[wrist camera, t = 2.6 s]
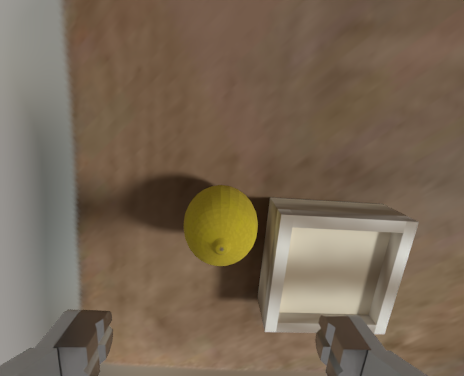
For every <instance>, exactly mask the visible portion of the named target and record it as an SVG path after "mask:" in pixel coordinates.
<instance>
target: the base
mask: <svg viewBox="0 0 464 376" xmlns="http://www.w3.org/2000/svg"><path fill="white" fill-rule="evenodd" d="M418 223H419V222H418V221H416V220H414V219H412V218H410V217H408V216H406V215H404V214H402V213H400V212H398V211H396V210H394V209H392V208H390V207H388V206H386V205H384V204H372V203H355V202H338V201H321V200H304V199H288V198H271V197H270V202H269V210H268V218H267V226H266V234H265V242H264V250H263V258H262V266H261V274H260V282H259V289H258V297H257V298H258V303H259V307H260V312H261V317H262V321H263V326H264V331H265V332H296V333H317V332H318V331H319V330H320V329H321V327H320V325H319V318H320V317H321V315H359V316H360V317H361V318H362V319H363V320H364V322H365V323H366V324H367V326H368V327H369V328H370V330H371V331H372V332H373V334H385V331H386V328H387V324H388V321H389V318H390V315H391V311H392V308H393V305H394V301H395V298H396V295H397V292H398V288H399V285H400V282H401V279H402V275H403V272H404V269H405V266H406V262H407V259H408V256H409V252H410V249H411V246H412V243H413V239H414V236H415V233H416V230H417V226H418Z"/></svg>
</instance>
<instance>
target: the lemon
mask: <svg viewBox="0 0 464 376" xmlns="http://www.w3.org/2000/svg"><path fill="white" fill-rule="evenodd" d="M257 229H258V221H257V215H256V211H255V209H254V207H253V205H252V203H251V201H250V200H249V199H248V198H247V196H246V195H245V194H243V193H242V192H240V191H239V190H238V189H235V188H233V187H230V186H224V185H218V186H211V187H209V188H206V189H204V190H203V191H201V192H200V193H198V194H197V195H196V196H195V197H194V198H193V200H192V201H191V202H190V204H189V206H188V208H187V210H186V212H185V218H184V234H185V239H186V241H187V244H188V246H189V248H190V250H191V251H192V252H193V253H194V255H195V256H196V257H197V258H199V259H200V260H201V261H203V262H205V263H208V264H210V265H215V266H227V265H231V264H234V263H236V262H238V261H240V260H241V259H242V258H244V257H245V256H246V255H247V254H248V253H249V251H250V250H251V248H252V247H253V245H254V242H255V240H256V237H257Z"/></svg>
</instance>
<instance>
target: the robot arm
mask: <svg viewBox="0 0 464 376" xmlns="http://www.w3.org/2000/svg"><path fill="white" fill-rule="evenodd" d="M111 321H112V314H111V312H110V311H98V310H67V311H65V312H64V313H63V314H62V315H61V317H60V318H59V319H58V320H57V321H56V323H55V324H54V325H53V326H52V327H51V329H50V330H49V331H48V332H47V334H46V335H45V336H44V337H43V338H42V340H41V341H40V342H39V343H38V344H37V346H36V347H35V348H29V349H27V350H26V351H24V352H23V353H21V354H19V355H17V356H16V357H14V358H12V359H11V360H9V361H7V362H5V363H4V364H2V365H1V366H0V376H98V375H99V373H100V364H101V363H102V362H103V361H104V360H106V358H107V356H108V354H109V351H110V348H111V344H112V339H113V329H112V328H111V327H110V326H109V325H110V323H111ZM319 325H320V327H321V329H320V330H319V331H318V332H317V333H316V339H315V340H316V349H317V353H318V355H319V358H320V360H321V361H322V362H323V363H324V364H325V365H327V367H326V374H327V376H427V375H426V374H424V373H423V372H421V371H420V370H418V369H417V368H415V367H414V366H412V365H411V364H409V363H408V362H406V361H405V360H403V359H402V358H400V357H399V356H397V355H396V354H394V353H393V352H391V351H386V350H385V348H384V347H383V346H382V344H381V343H380V342H379V340H378V339H377V338H376V336H375V335H374V334H373V332H372V331H371V330H370V328H369V327H368V326H367V324H366V323H365V322H364V320H363V319H362V318H361V317H360V316H359V315H321V317H320V318H319Z"/></svg>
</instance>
